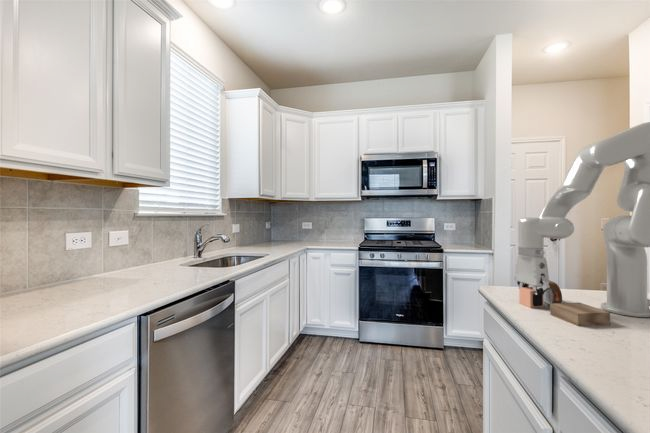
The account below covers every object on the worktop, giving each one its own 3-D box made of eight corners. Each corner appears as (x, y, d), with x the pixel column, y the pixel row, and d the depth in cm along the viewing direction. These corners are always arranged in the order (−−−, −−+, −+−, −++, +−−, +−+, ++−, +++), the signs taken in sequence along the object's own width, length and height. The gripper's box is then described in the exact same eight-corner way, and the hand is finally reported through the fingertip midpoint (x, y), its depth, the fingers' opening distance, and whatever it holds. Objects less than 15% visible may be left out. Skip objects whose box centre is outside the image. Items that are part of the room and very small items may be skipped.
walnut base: (579, 314, 99) (579, 302, 99) (610, 325, 89) (610, 312, 89) (550, 316, 99) (550, 303, 99) (578, 327, 89) (578, 313, 89)
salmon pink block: (532, 303, 111) (531, 286, 111) (543, 307, 106) (543, 290, 106) (519, 303, 111) (519, 287, 111) (530, 308, 106) (530, 290, 106)
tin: (563, 309, 104) (563, 284, 104) (552, 309, 104) (552, 284, 104) (541, 297, 118) (541, 275, 118) (532, 297, 119) (532, 275, 119)
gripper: (561, 255, 100) (562, 310, 100) (522, 249, 117) (522, 296, 117) (541, 256, 99) (541, 311, 100) (504, 249, 116) (504, 297, 116)
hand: (531, 302), depth 108 cm, fingers closed on salmon pink block, 4 cm apart
